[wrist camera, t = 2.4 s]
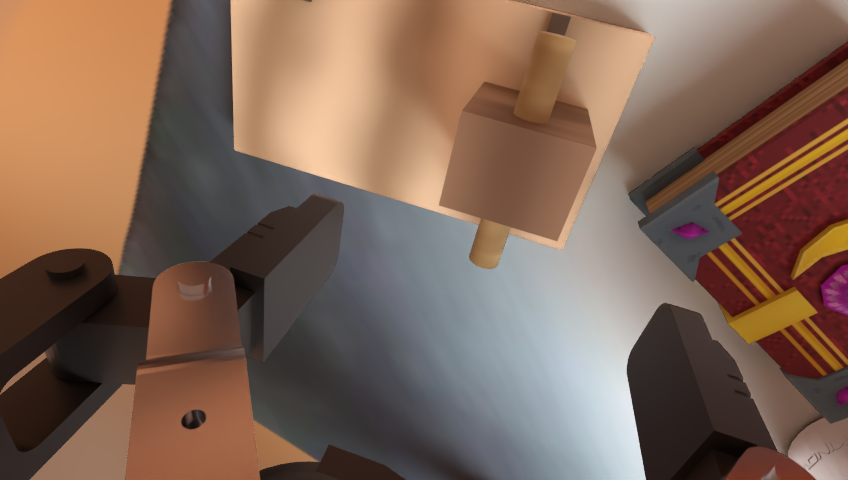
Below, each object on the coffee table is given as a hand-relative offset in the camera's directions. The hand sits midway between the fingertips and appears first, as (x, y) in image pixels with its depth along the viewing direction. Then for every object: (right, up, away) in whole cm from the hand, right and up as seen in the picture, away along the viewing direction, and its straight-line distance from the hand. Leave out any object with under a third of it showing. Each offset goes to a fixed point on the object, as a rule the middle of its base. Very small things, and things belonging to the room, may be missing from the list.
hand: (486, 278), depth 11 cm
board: (-2, +9, +14) cm, 16 cm away
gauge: (+3, +6, +11) cm, 13 cm away
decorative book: (+19, +1, +12) cm, 23 cm away
